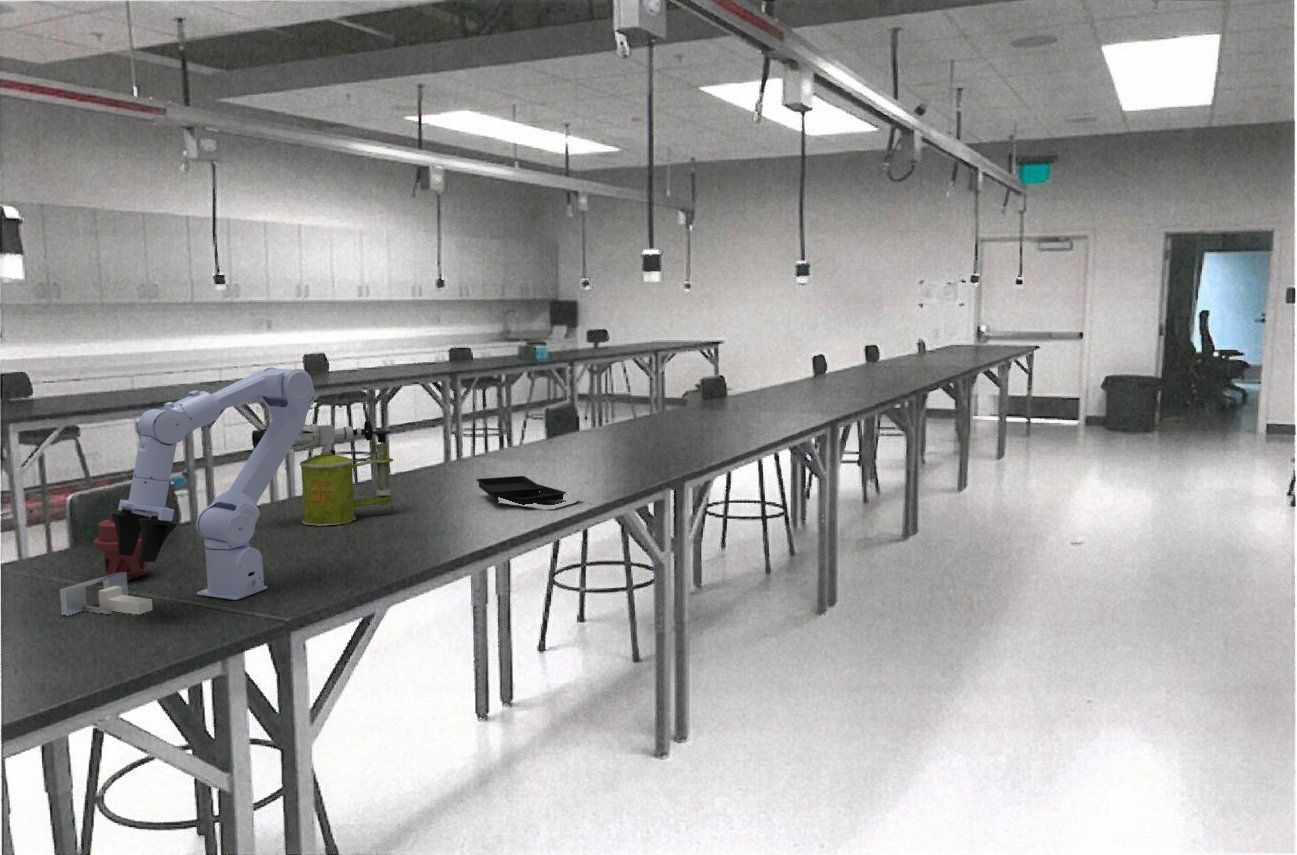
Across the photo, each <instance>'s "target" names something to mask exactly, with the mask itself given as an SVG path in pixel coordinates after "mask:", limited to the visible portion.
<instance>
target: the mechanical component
mask: <svg viewBox="0 0 1297 855" xmlns="http://www.w3.org/2000/svg"><path fill="white" fill-rule="evenodd" d="M97 528H98V537H97V538H95V540H94V541H93V542H94V543H93V544H94V549H96V550H98V551H100V552H103V554H104V566H105V567H104V569H105V573H106V575H111V574H114V573H117V572H126V573H127V581H128V580H129V581H131V580H133V579H135V578H134V577H136V576H139V577H141V576H140V575H143V576H144V575H145V574H146V572H145V570H146V569H147V562H144V561H141V542H142V536H141V532H140V535H139V538H138V541H137V545H136V548H135V551H134V553H133V555H132V556H130V555H119V552H118V539H117V531H116V527H115V523H114V521H113V518H112V516H111V517H109V519H105V520H103V521H102V520H101V521H100V522H99V523H97ZM132 578H133V579H132ZM136 578H137V577H136ZM130 579H131V580H130ZM129 581H128V582H129Z"/></svg>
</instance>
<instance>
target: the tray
mask: <svg viewBox="0 0 1297 855" xmlns="http://www.w3.org/2000/svg"><path fill="white" fill-rule="evenodd" d="M476 481H477V482H478V487H479V488H480V489H481V490H482V491H484V492H485V493H487V495H489V496H490V498H495V499H498V497H500V498H503V499H506V500H509V501H512V502H515V503H518V504H522V505H525V504H533V503H537V504H543V505H555V504H554V503H556V504H559V503H562V502H564V501H565V500H561V499H563V495H564V494H567V491H563V490H559V489H557V488H553V487H550V486H549V487H548V486H546V485H542V484H538V483H536V482H535V481H533V480H531V479H530V478H529V477H527V476H524V475H517V476H516V475H515V476H503V477H502V476H500V477H499V476H498V477H485V478H476ZM539 491H540V492H539ZM558 500H559V502H558V503H557V502H555V501H558ZM552 501H554V503H547V502H552ZM565 502H566V501H565ZM546 503H547V504H546Z"/></svg>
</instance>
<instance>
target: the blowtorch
mask: <svg viewBox="0 0 1297 855" xmlns="http://www.w3.org/2000/svg"><path fill="white" fill-rule="evenodd" d="M267 429H268V428H264V429H255V430H252V433H251V440H252V441H251V442H252V447H253V449H254V450H255V448H256V446H257V445H258V443H259V442H260V440H261V439H262V437H263V435H264V434H265V432H266V431H267ZM390 433H392V432H391V430H373V425H372V422H371V421H370V420H365V421H364V423H363V428H361V427H356V428H355V429H353V427H352V426H350V425H349V426H344V427H341V428H340V427H339V428H334V425H333V424H321V425H318V424H316V423H312V424H311V423H309V424H306V423H305V425H304V427H303V429H302V431H301V432H300V434H299V435H298V437H297V439H296V440H295V442H294V444H293V445H292V447H291V448H290V450H294V451H296V452H300V451H303V450H306V449H307V448H309V447H311V448H314V447H319V446H320V445H322V448H321V452H320V455H316V456H313V457H312V456H311V457H310V458H307V459H305V460H301V461H300V462H299V466H300V468H301V469H300V470H301V481H302V482H301V485H302V486H301V488H302V501H303V503H302V504H303V519H301V524H302V523H304V524H307V525H316V526H321V525H336V524H341V523H346V522H349V521H351V520H353V519H354V516H355V508H356V507H362V506H363V507H364V506H372V505H377V504H378V505H381V506H385V505H388V504H389V503H390V502H391V500H392V498H393V495H391V492H392V491H391V488H390V478H389V473H390V472H389V463H392V462H394V458H389V457H388V456H387V454H388V446H389V444H388V443H386V435H388V434H390ZM373 435H376V436H377V443H378V444H375V449H376V455H377V458H372V459H370V460H365V461H361V462H356V463H354V459H353V458H349V457H346V456H343V455H337V454H336V450H335V449H333V445H332V444H334V443H335V440H339V439H344V440H351V439H353V438H354V436H356V437H361V436H364V438H365V439H366V441H372V439H373ZM375 463H376V473H377V474H376V476H377V489H376V490H375V495H376V496H373V498H369V499H368V498H367V499H357V500H356V499H355V498H354V476H353V475H354V474H353V468H357V467H361V466H366V465H370V464H375ZM354 499H355V500H354Z"/></svg>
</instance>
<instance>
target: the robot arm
mask: <svg viewBox="0 0 1297 855" xmlns="http://www.w3.org/2000/svg"><path fill="white" fill-rule="evenodd" d="M315 394H316V391H315V387H314V383H313V380H312V377H311V375H310V373H308V371H306V370H304V369H302V368H294V369H292V368H291V369H288V368H276V367H270V366H269V367H266V368H264V369H263V370H257V371H254V372H253V373H251V374H250V375H248V376H246V377H243V378H241V379H240V380H237V381H236V382H233V383H231V384H230V385H228V386H226V387H224V388H222V389H219V390H217V391H215V392H213V393H210V392H208V391H205V390H201V391H199V390H191V391H189V392H188V396H187V397H184V398H182V399H179V400H177V401H174V402H171V401H168V402H166V403H164V404H163V405H164V406H163V407H162V409H158V408H154V409H153V408H152V409H148V410H146V411H145V412H144V413H142V416H140V417H139V419H138V421H136V422H135V423H134V428H135V432H136V434H137V436H138V448H137V454H136V458H135V464H134V469H133V476H132V480H131V485H130V490H129V496H128V499H120V500H119V504H118V511H120V512H112V513H111V517H112V518H113V521H114V523H115V527H116V531H117V539H118V552H119V555H130V556H132V555H133V553H134V551H135V548H136V545H137V541H138V538H139V535H140V532H141V536H142V542H141V561H144V562H146V563H155V562H156V560H157V558H158V555H159V554H160V551H161V549H162V547H163V546H164V543H165V542H166V540H167V539H168V537H169V535H170V534H171V533H172V531H173V530H174V529H175V528H176V527H177V523H176V522H173V519H174V518H173V517H174V512H175V509H172V508H170V507H167V506H166V503H167V499H168V498H167V497H168V493H169V487H170V481H171V476H172V471H173V465H174V461H175V454H176V449H177V445H178V444H177V443H181V442H182V441H183V440H184V439H185V437H186V435H187V434H188V433H191V432H193V431H195V430H197V429H199V428H202V427H205V426H207V425H209V424H210V423H213V422H215V421H218V419H219V417H220V414H221V412H222V411H223V410H226V409H228V408H231V407H233V406H236V405H238V404H241V403H244V402H246V401H248V400H251V399H254V398H257V397H259V396H260V398H261V399H262V401H263V403H264V404H265V406H266V407H267V409H268V411H269V413H270V414H271V419H272V422H271V423H270V424H269V426H268V427H267V428H266V429H267V431H266V432H265V434H264V435H263V437H262V439H261V440H260V442H259V443H258V445H257V446H256V448H255V449H254V450H253V451H252V453H251V455H249V458H248V459H247V461H246V462H245V464H244V466H243V467H242V468H241V470H240V472H239V473H238V475H237V476H236V478H235V480H234V481H233V483H232V484H231V485H230V487H229V489H227V491H225V492H222V493H221V494H220V495H218V496H216V497H215V498H214V499H213V501H211V502H212V503H210V505H208V506H207V507H205V508H204V509H203V510H201V512H200V513H199V514H198V515H197V518H196V523H195V528H196V532H197V534H198V535H199V536H200V537H201V538H202V539H203V543H204V547H205V548H204V549H205V563H206V567H205V568H206V576H207V577H206V578H207V580H206V581H207V582H206V583H207V588H205V589H202V590H200V591H197V592H196V595H197V596H203V595H204V596H203V597H210V598H211V597H212V598H218V599H225V600H226V599H227V600H232V601H237V600H241V599H243V598H247V597H248V596H251V595H254V594H257V593H260V592H261V591H264V590H267V589H268V586H267V585H265V583H264V582H265V581H264V580H265V579H264V578H265V577H264V564H263V555H262V554H261V552H260V550H259V549H258V548H255V547H252V546H251V545H250V540H251V539H252V538H253V536H254V534H255V529H256V523H257V521H258V520H259V517H260V516H261V513H260V510H259V507H258V505H257V504H258V503H259V500H260V499H261V497H262V495H263V494H264V492H265V490H266V489H267V487H268V486H269V484H270V483H271V481H272V479H273V478H274V475H276V473H277V471H278V469H279V468H280V466H281V465H282V463H283V461H285V458H286V457H287V456H288V453H289V452H290V450H291V449H290V448H291V447H292V445H293V444H294V442H295V440H296V439H297V437H298V435H299V434H300V432H301V431H302V429H303V427H304V425H305V424H306V421H307V415H308V410H309V404H310V402H311V401H312V399H313V397H314V396H315Z"/></svg>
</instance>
